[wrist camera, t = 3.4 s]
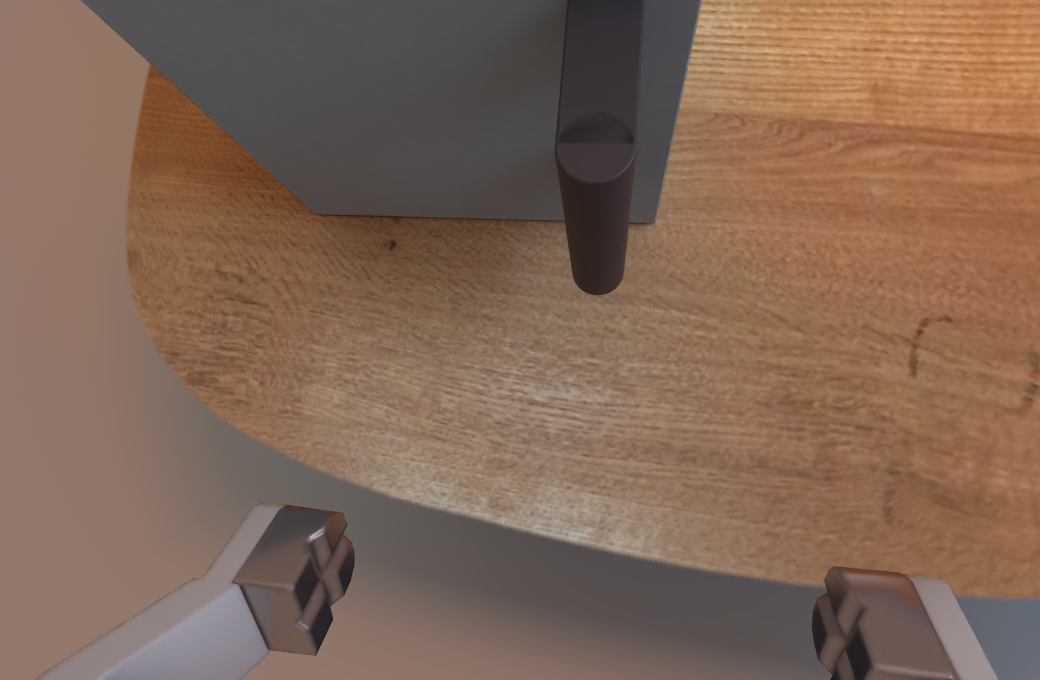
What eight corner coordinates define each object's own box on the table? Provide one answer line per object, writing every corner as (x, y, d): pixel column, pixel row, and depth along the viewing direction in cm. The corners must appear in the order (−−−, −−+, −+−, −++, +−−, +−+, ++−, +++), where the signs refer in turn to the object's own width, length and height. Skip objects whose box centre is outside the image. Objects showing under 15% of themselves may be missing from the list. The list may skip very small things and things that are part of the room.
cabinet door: (650, 332, 27) (759, 8, 8) (297, 312, 30) (-219, 35, 11) (656, 205, 29) (760, -318, 10) (317, 197, 32) (-110, -223, 13)
